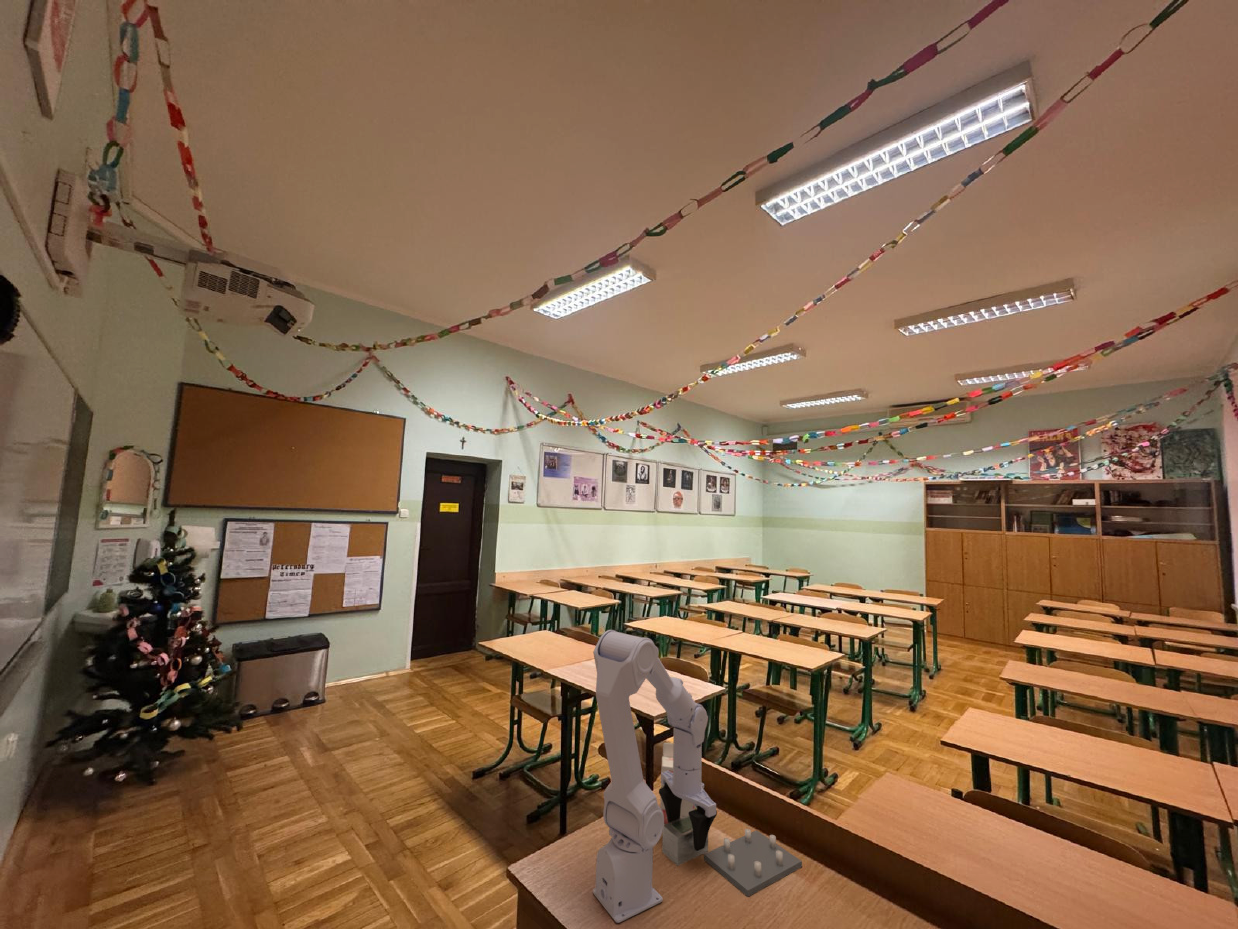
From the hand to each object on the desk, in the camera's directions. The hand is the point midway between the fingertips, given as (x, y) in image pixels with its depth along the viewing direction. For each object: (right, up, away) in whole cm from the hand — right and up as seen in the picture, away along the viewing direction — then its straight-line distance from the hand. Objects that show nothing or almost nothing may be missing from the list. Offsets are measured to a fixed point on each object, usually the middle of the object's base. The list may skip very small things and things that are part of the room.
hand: (686, 837), depth 95 cm
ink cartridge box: (0, -4, +10) cm, 11 cm away
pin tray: (+12, -3, -3) cm, 13 cm away
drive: (0, -3, 0) cm, 3 cm away
